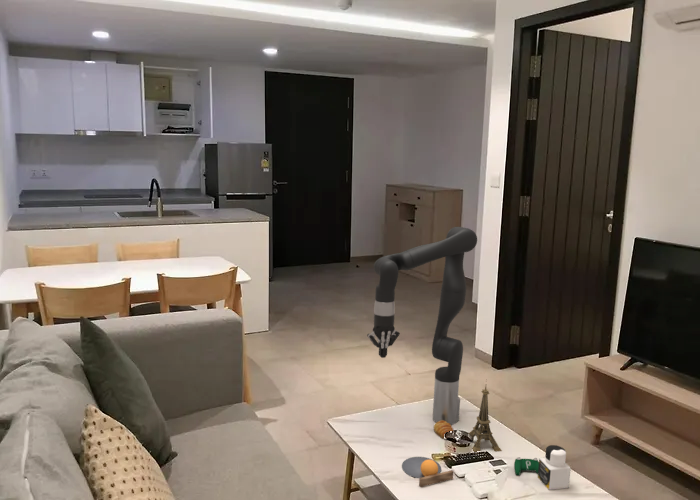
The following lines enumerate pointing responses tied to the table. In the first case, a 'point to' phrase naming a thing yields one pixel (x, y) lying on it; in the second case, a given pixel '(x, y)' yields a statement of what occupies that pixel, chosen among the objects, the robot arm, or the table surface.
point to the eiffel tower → (483, 421)
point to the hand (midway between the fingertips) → (382, 356)
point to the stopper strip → (435, 478)
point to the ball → (429, 468)
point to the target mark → (416, 466)
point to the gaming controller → (526, 465)
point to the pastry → (442, 428)
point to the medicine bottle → (554, 468)
